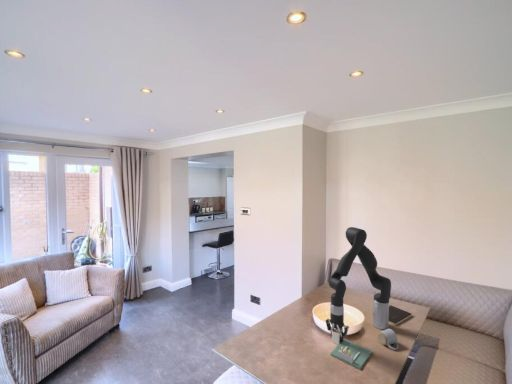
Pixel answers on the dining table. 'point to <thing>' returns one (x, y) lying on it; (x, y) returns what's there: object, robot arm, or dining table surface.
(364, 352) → the header board
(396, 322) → the hardcover book
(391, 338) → the ceramic mug
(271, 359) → the dining table surface
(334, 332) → the plug block
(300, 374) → the dining table surface
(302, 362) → the dining table surface
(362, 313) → the dining table surface
